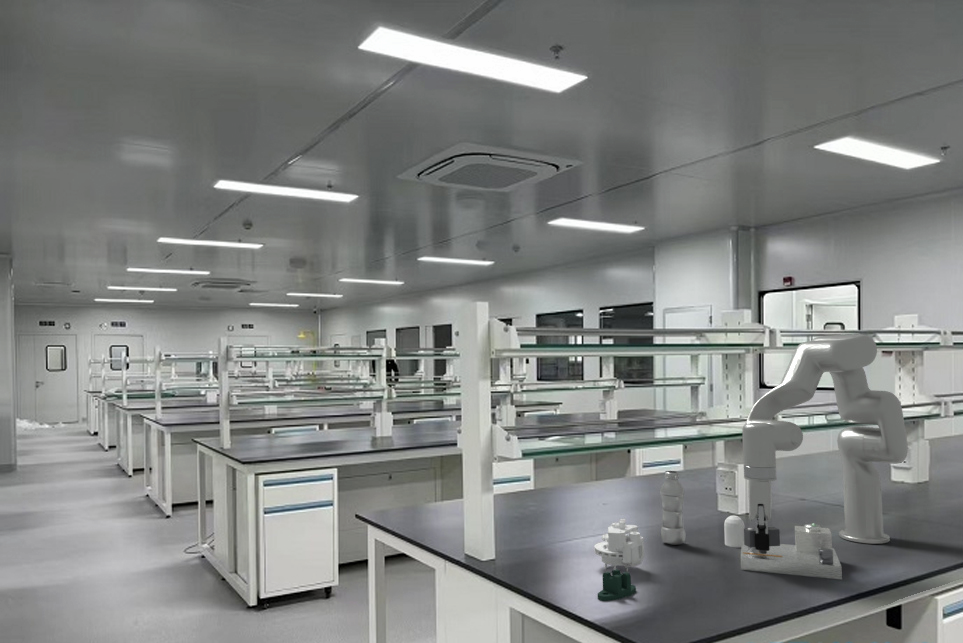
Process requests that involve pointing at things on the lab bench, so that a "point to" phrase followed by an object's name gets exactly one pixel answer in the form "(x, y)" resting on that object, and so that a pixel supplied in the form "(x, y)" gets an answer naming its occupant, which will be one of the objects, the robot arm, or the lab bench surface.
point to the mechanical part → (621, 546)
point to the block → (772, 531)
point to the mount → (616, 586)
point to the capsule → (734, 531)
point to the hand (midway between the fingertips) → (762, 546)
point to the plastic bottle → (672, 509)
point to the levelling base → (797, 555)
